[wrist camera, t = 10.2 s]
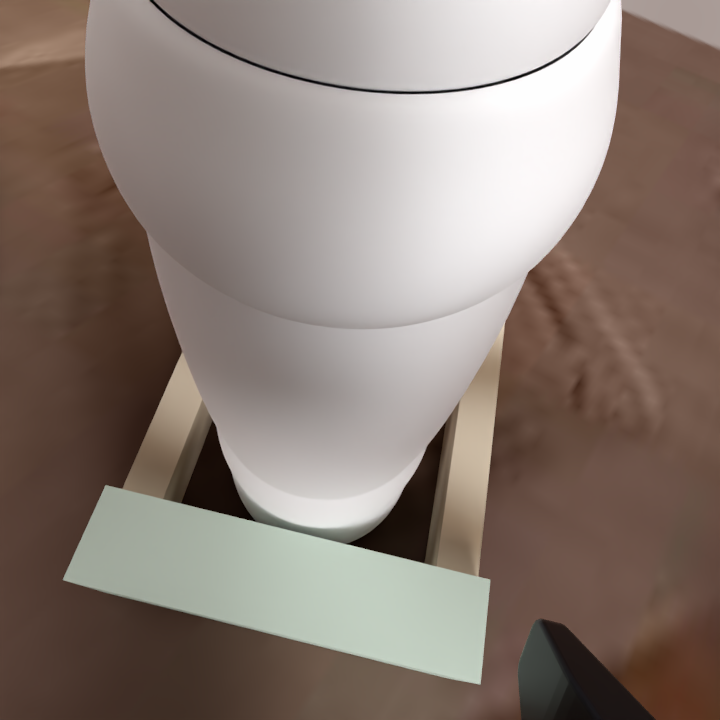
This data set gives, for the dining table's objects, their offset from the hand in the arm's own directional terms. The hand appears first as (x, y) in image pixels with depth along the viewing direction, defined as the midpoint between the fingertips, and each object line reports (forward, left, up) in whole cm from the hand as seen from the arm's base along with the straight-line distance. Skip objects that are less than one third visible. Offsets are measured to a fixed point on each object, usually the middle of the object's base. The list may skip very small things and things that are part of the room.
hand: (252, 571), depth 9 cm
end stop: (0, +1, -13) cm, 13 cm away
